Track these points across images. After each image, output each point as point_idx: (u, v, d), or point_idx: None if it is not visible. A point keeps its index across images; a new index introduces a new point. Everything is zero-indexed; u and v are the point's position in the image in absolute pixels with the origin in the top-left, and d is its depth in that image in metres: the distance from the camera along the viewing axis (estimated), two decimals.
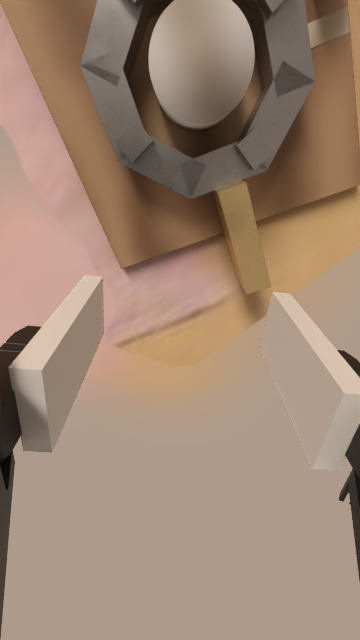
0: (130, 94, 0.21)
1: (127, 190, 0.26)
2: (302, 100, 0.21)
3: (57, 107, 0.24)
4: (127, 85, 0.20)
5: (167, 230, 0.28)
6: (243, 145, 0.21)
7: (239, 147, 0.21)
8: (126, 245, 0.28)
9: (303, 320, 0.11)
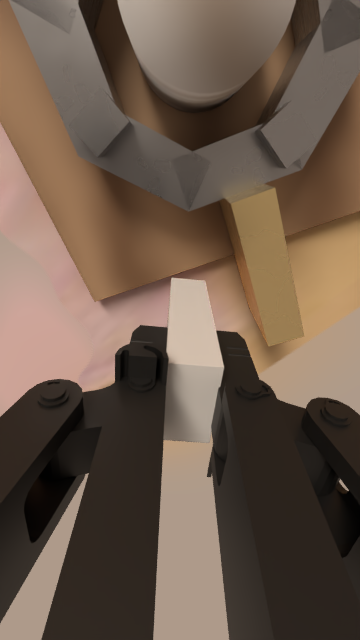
0: (92, 48, 0.13)
1: (99, 196, 0.19)
2: None
3: None
4: (87, 32, 0.13)
5: (157, 251, 0.20)
6: (270, 129, 0.13)
7: (264, 133, 0.13)
8: (100, 271, 0.21)
9: (201, 303, 0.11)
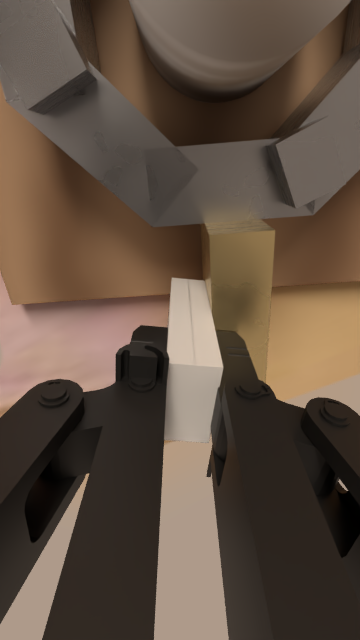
0: None
1: (44, 172, 0.14)
2: None
3: None
4: None
5: (107, 262, 0.15)
6: (289, 148, 0.09)
7: (280, 151, 0.09)
8: (27, 269, 0.16)
9: (200, 303, 0.11)
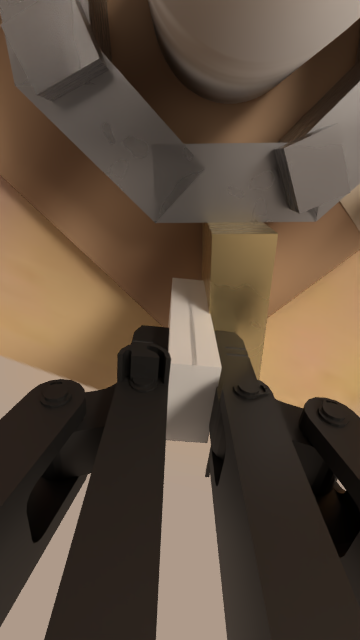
0: None
1: None
2: None
3: None
4: None
5: None
6: (297, 153, 0.09)
7: (287, 155, 0.09)
8: None
9: (199, 303, 0.11)
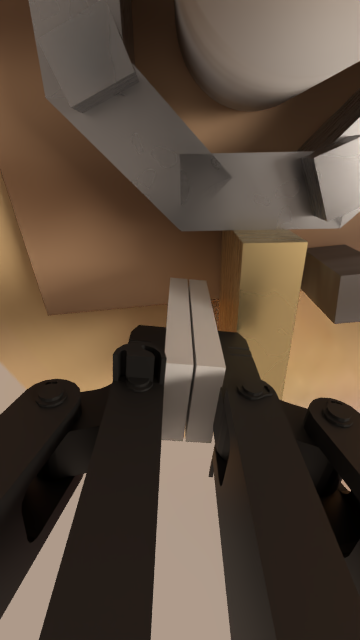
0: None
1: None
2: None
3: None
4: None
5: None
6: (326, 163, 0.09)
7: (317, 164, 0.09)
8: None
9: (202, 303, 0.11)
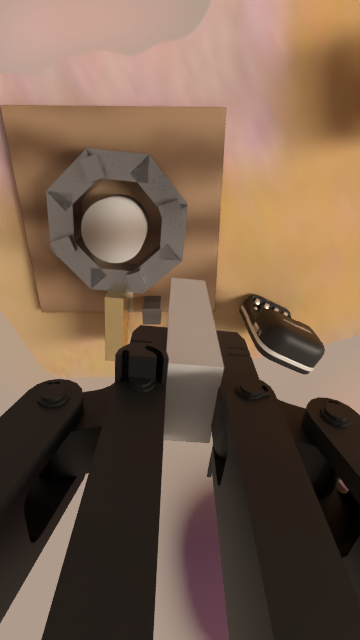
0: (72, 218, 0.32)
1: (68, 145, 0.32)
2: (173, 266, 0.34)
3: (136, 114, 0.31)
4: (72, 213, 0.32)
5: (30, 166, 0.33)
6: (129, 277, 0.34)
7: (126, 277, 0.34)
8: (22, 121, 0.31)
9: (201, 303, 0.11)
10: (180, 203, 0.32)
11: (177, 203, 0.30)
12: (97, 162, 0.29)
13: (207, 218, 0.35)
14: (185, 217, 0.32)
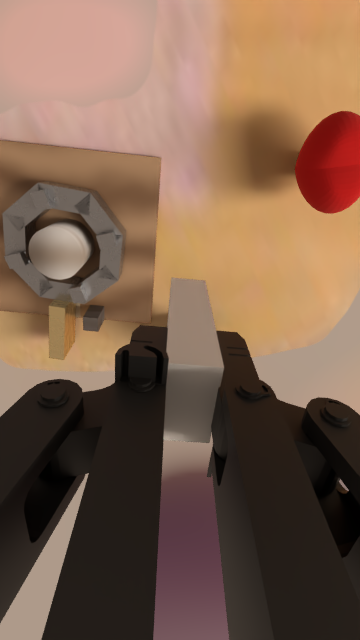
0: (24, 238, 0.38)
1: (25, 174, 0.38)
2: (110, 284, 0.40)
3: (84, 156, 0.37)
4: (24, 233, 0.38)
5: None
6: (71, 290, 0.40)
7: (69, 290, 0.40)
8: None
9: (201, 303, 0.11)
10: (116, 234, 0.38)
11: (112, 235, 0.36)
12: (44, 196, 0.35)
13: (144, 245, 0.41)
14: (120, 245, 0.38)
